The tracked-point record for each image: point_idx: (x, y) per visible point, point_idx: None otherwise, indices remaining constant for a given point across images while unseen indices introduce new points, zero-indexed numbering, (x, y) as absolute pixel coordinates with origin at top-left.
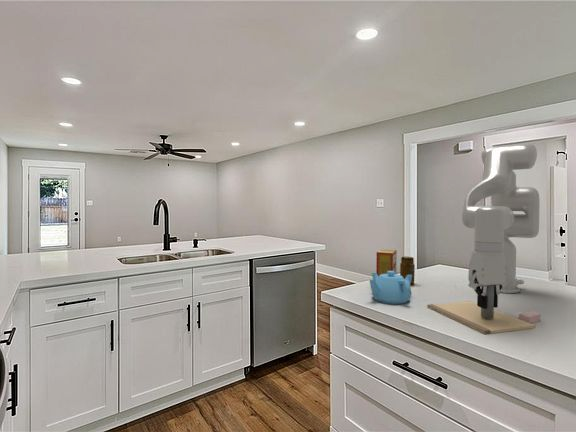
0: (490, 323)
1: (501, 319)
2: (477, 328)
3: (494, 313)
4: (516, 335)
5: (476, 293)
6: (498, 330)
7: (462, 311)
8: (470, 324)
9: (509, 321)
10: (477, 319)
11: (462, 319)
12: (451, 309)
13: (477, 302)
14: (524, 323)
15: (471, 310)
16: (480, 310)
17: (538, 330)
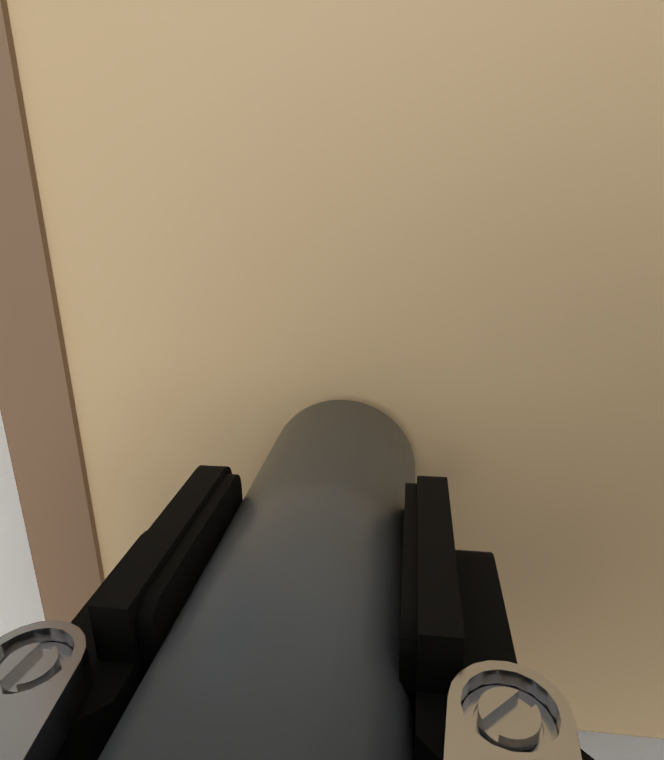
0: None
1: (488, 528)
2: (49, 611)
3: (626, 336)
4: None
5: (32, 632)
6: None
7: (234, 138)
8: (31, 542)
9: (516, 596)
10: (211, 447)
11: (28, 417)
12: (128, 4)
13: (139, 536)
14: (620, 678)
15: (407, 127)
16: (546, 166)
17: (626, 751)
